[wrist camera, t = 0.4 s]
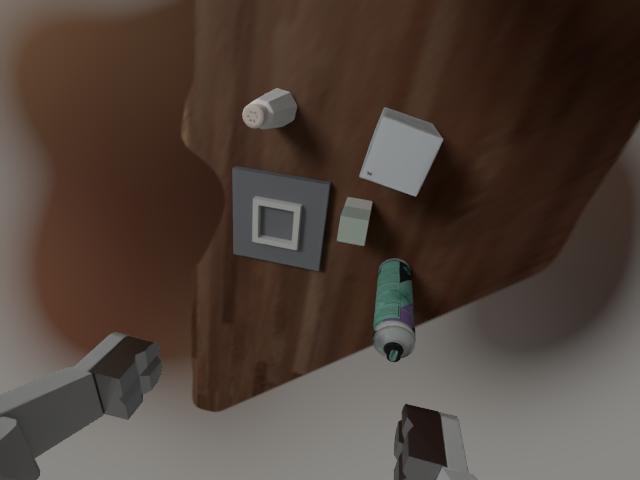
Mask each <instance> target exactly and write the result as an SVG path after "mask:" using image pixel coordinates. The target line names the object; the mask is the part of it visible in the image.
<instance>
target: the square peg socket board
mask: <svg viewBox="0 0 640 480" xmlns="http://www.w3.org/2000/svg"><path fill="white" fill-rule="evenodd" d="M232 174H233V254H237V255H242V256H247V257H251V258H256V259H261V260H266V261H271V262H276V263H281V264H286V265H291V266H296V267H301V268H305V269H310V270H315V271H319V269H320V265H321V258H322V250H323V242H324V234H325V226H326V218H327V211H328V203H329V195H330V187H331V182H328V181H322V180H316V179H310V178H304V177H298V176H292V175H286V174H280V173H274V172H268V171H262V170H256V169H250V168H244V167H239V166H236V167H234V168H232Z"/></svg>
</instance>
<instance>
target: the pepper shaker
mask: <svg viewBox="0 0 640 480" xmlns="http://www.w3.org/2000/svg"><path fill="white" fill-rule="evenodd" d="M296 110H297V104H296V102H295V100H294V98H293V97H292V95H291V93H290V92H288V91H285V90H282V89H279V88H276V89H274V90H272V91H270V92H268V93H266V94H265V95H263V96H261V97H259V98H258V99H256V100H254V101H253V102H251V103H250V104H249V105H247V106H246V107H245V108H244V110H243V114H242V115H243V120H244V122H245V124H246V125H247V126H249V127H251V128H261V129H270V128H277V127H283V126H285V125H287V124H288V123H290V122H292V121H293V120H294V119H295V114H296Z"/></svg>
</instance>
